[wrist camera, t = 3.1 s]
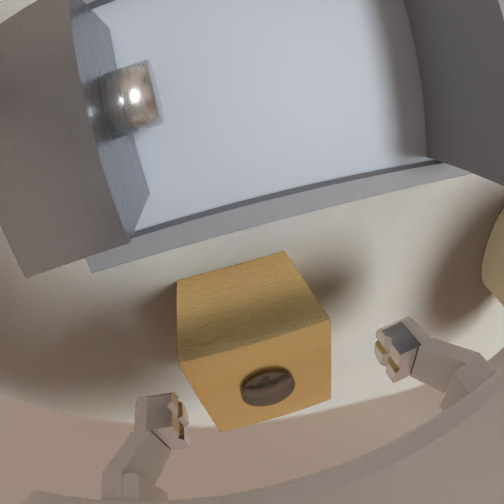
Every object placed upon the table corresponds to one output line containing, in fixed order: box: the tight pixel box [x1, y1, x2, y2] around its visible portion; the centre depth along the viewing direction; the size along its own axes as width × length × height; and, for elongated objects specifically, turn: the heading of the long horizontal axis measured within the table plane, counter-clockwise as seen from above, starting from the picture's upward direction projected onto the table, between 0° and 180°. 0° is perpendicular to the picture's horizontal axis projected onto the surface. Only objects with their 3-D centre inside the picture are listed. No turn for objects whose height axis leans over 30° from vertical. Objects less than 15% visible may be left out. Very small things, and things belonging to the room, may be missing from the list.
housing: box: [177, 251, 331, 432], centre depth 12 cm, size 5×5×5 cm
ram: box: [0, 0, 164, 278], centre depth 6 cm, size 4×6×4 cm
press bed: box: [83, 0, 504, 273], centre depth 7 cm, size 18×10×6 cm, turn 101°
